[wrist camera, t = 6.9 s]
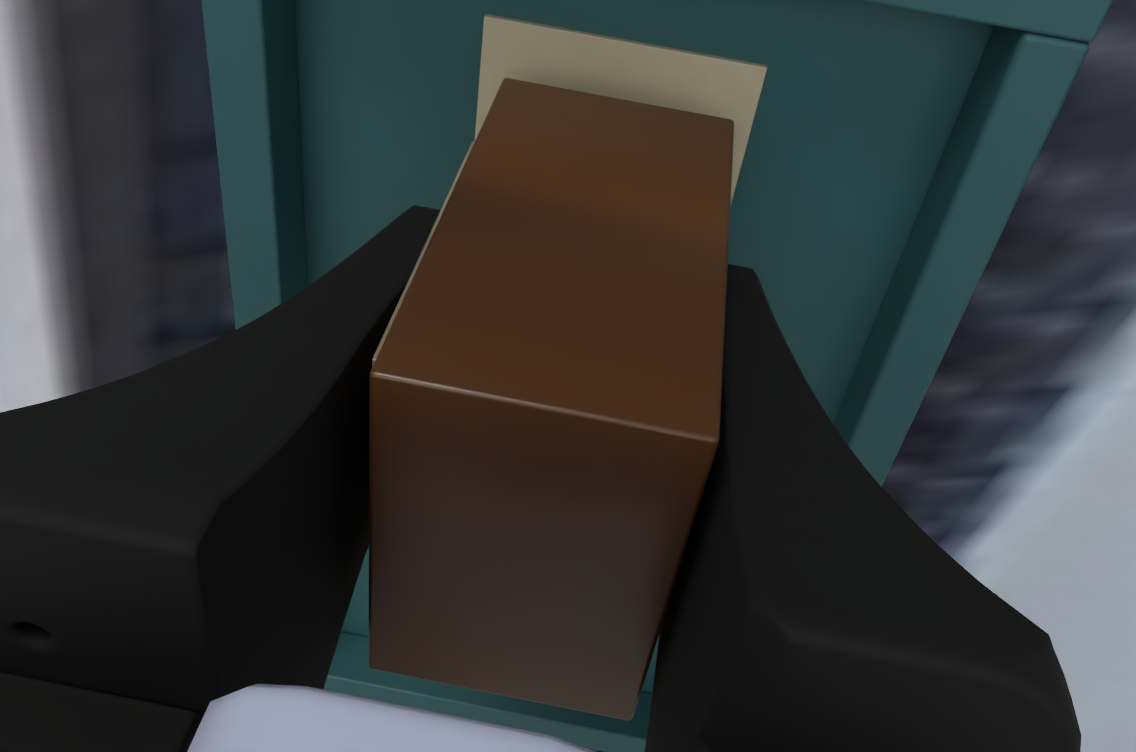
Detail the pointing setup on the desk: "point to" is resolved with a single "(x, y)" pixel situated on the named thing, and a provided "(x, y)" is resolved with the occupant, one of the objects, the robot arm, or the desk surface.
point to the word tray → (757, 213)
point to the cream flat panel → (620, 73)
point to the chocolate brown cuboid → (551, 401)
